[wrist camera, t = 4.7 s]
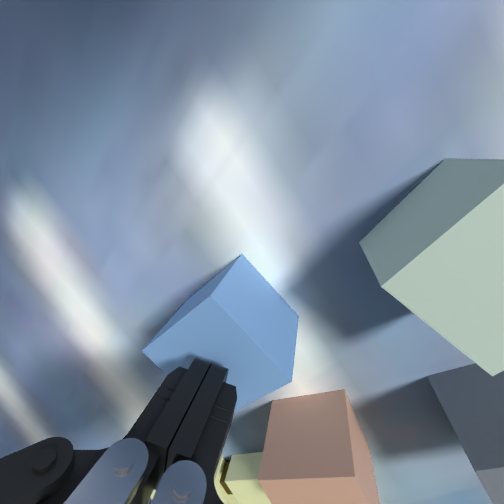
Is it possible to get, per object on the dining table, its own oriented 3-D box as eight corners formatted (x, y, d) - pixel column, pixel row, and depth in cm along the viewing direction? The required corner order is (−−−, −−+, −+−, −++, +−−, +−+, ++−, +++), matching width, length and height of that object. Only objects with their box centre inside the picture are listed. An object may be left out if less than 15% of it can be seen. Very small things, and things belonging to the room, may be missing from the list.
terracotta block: (272, 399, 18) (257, 480, 14) (344, 388, 17) (354, 476, 12) (299, 450, 19) (293, 541, 15) (368, 445, 18) (387, 546, 13)
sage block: (358, 241, 13) (381, 286, 9) (444, 158, 11) (531, 160, 7) (432, 302, 14) (492, 376, 9) (530, 230, 12) (670, 279, 7)
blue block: (188, 298, 17) (141, 350, 12) (242, 253, 15) (210, 295, 10) (240, 352, 18) (213, 421, 13) (298, 315, 16) (291, 381, 11)
